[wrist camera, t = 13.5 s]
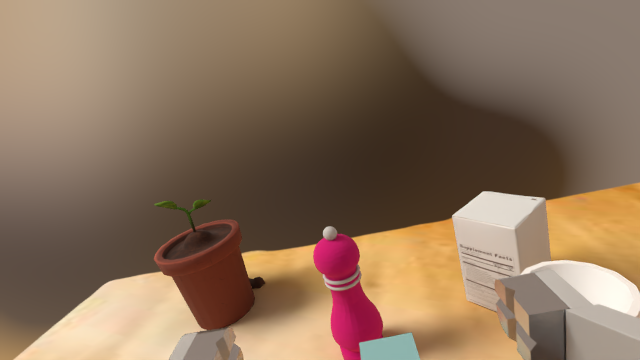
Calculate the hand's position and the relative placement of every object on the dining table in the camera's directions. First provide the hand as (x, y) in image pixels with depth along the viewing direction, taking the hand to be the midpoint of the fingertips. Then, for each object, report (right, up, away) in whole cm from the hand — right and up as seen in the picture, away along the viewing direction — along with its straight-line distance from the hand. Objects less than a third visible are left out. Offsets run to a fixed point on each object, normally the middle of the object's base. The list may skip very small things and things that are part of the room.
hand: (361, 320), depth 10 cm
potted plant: (-21, -21, +59) cm, 66 cm away
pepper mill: (+5, -20, +37) cm, 43 cm away
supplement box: (+27, -13, +40) cm, 50 cm away
